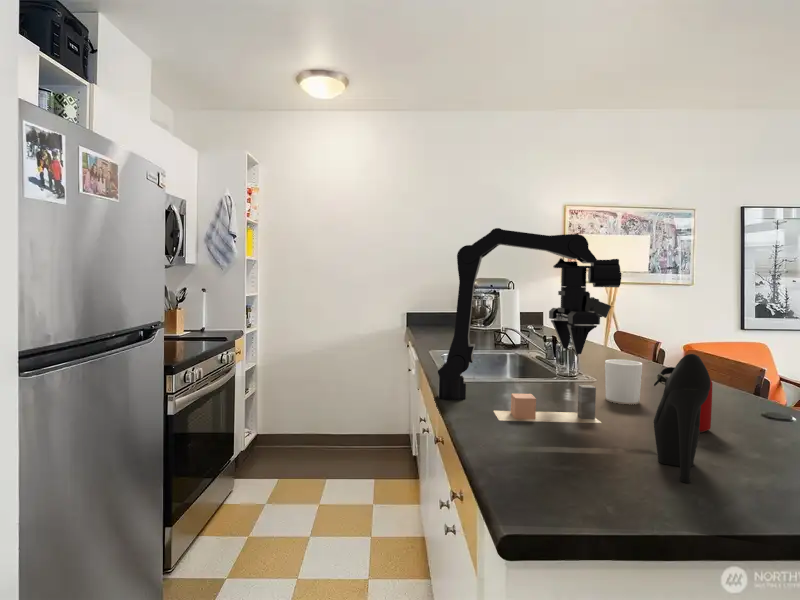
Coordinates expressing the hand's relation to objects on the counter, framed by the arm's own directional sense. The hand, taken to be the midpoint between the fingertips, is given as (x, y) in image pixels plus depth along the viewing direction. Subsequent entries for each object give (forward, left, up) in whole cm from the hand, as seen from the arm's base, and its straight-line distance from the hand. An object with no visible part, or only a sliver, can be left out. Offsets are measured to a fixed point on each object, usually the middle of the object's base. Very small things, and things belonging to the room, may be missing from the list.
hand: (571, 351), depth 119 cm
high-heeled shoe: (+6, -36, -14) cm, 40 cm away
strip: (-9, -10, -14) cm, 20 cm away
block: (-14, -10, -13) cm, 22 cm away
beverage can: (+21, -14, -14) cm, 29 cm away
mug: (+16, +11, -14) cm, 24 cm away
